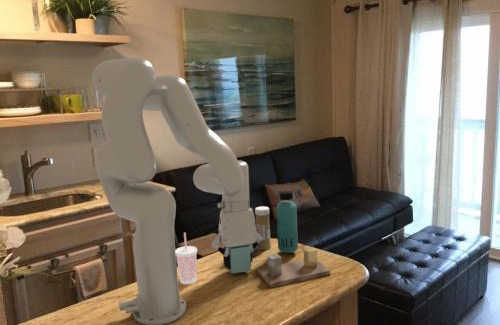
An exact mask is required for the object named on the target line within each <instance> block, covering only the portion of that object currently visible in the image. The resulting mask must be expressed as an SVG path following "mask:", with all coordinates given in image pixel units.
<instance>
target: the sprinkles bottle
mask: <svg viewBox="0 0 500 325" xmlns="http://www.w3.org/2000/svg"><path fill="white" fill-rule="evenodd" d="M254 214H255V225H256V226H257V227H258V233H259V234H260V235H261V236H262V237H263V239H262V240H261V242H260V243H259V250H262V251H263V250H264V251H265V250H269V249H271V247H272V246H271V230H270V228H271V226H270V225H271V224H270V208H269V207H268V206H258V207H255V208H254Z"/></svg>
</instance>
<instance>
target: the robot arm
mask: <svg viewBox="0 0 500 325" xmlns="http://www.w3.org/2000/svg"><path fill="white" fill-rule="evenodd" d="M91 80H92V84H93V86H94V88H95V90H96V91H97V92H98V93H99V94H100V95H101V96H103V97H104V98H105V99H104V101H103V105H102V110H101V123H102V124H101V125H102V128H103V132H104V135H105V138H106V141H104V142H103V143H102V144H100V145H99V147H98V148H97V150H96V152H95V157H94V167H95V171H96V173H97V174H96V175H97V176H98V179H99V182H100V185H101V187H102V189H103V193H104V195H105V197H106V200H107V203H108V204H109V205H108V206H110V209H111V210H112V211H113V213H114V214H116V216H118V217H119V218H121V219H124V220H127V221H130V222H132V223H133V222H134V223H135V224H136V228H135V232H134V236H133V240H132V243H133V244H132V248H133V255H134V265H135V266H134V267H135V274H136V275H135V276H136V286H137V287H136V288H137V293H135V294H136V297H135V298H132V300H127V301H125V300H124V301H121V302H119V303H118V304H119V306H118V307H119V311H120V312H121V311H125V314H126V315H127V314H131V313H132V314H133V318H134V320H135V321H136V322H138V323H139V324H142V325H165V324H169V323H172V322H174V321H176V320H178V319H180V318H181V317H182V316H184V314H186V311H187V306H188V305H187V302H186V300H185V299H184V298H183V297H181V296H180V292H179V291H180V290H179V288H180V287H179V280H178V279H179V278H178V264H177V257H176V253H175V250H176V243H175V221H176V220H175V219H176V213H177V212H176V210H177V208H176V207H177V203H176V200H175V199H176V198H175V197H174V196H173V195H174V194H172V192H170V190H168V189H167V188H165V187H163V186H161V185H158V184H154V183H150V182H149V181H151V180H152V179H154V177H155V175H156V171H157V161H156V157H155V154H154V150H153V148H152V145H151V141H150V139H149V135H148V132H147V130H146V126H145V121H144V117H143V116H144V115H143V114H144V112H143V111H145V110H146V111H153V112H155V111H156V112H160V113H161V115H162V116H163V118H164V121H165V122H166V124H167V126H168V127H169V130H170V131H171V134H172V135H173V137H174V139H175V141H176V142H177V144H178V145H180V146H181V147H182V148H184V149H185V150H187V151H188V152H191V153H192V154H194V155H195V156H198V157H199V158H201V159H202V160H203V161H204V162H206V164H201V165H199V167H197V168H195V171H194V172H193V176H192V181H193V184H194V186H195V187H196V188H197V189H199V190H200V191H202V192H206V193H210V194H217V195H220V196H221V195H222V199H221V202H217V207H218V208H217V209H221V210H220V212H219V219H218V220H219V221H218V234H217V236H216V237H215V239H214V240H213V241H212V243H210V245H211V247H212V248H213V249H215V250H216V251H218V252H219V253H220V254H221V255H223V259H222V260H223V266H224V267H225V268H226V269H227V270H228V271H230V269H231V267H230V256H229V251H230V248H232V247H238V246H245V245H249V246H250V255H251V263H253V261H254V259H253V257H254V256H252V252H254V249H255V248H256V247H257V245H258V243H260V242H261V240H262V239H263V237H262V236H261V235H260V234H259V233H258V232H257V231H256V217H255V215H254V214H255V212H254V210H253V208H252V207H250V183H249V182H250V181H249V180H250V176H249V165H248V163H247V162H246V161H243V160H238V159H237V156H236V155H235V153H234V151H233V150H232V149H231V147H229V145H228V144H226V143H225V141H224V140H223V139H222V138H220V137H219V136H218V134H217V133H215V132H214V131H213V130H212V129H211V128H210V127H209V126H208V124H207V122H206V121H205V118H204V116H203V114H202V111H201V110H200V108H199V106H198V104H197V101H196V100H195V97H194V95H193V93H192V91H191V89H190V87H189V85H188V83H187V82H186V80H185V79H184V78H182V77H181V76H178V75H173V74H168V75H167V74H166V75H165V74H164V75H163V74H162V75H156V73H155V69H154V66H153V64H152V63H151V62H150V61H148V60H147V59H145V58H143V57H124V58H118V59H110V60H109V59H108V60H105V61H103V62H102V61H101V62H100V63H99V64H98V65H97V66H96V67H95V69H94V70H93V73H92V79H91ZM148 182H149V183H148ZM219 244H221V245H219Z"/></svg>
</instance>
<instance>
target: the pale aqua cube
mask: <svg viewBox="0 0 500 325" xmlns="http://www.w3.org/2000/svg"><path fill="white" fill-rule="evenodd" d="M229 256H230V267H231V269H230V270H229V272H230V273H231V274H237V273H245V272H249V271H252V262H251V255H250V246H249V245H245V246H238V247H232V248H230V251H229Z"/></svg>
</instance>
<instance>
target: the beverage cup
mask: <svg viewBox="0 0 500 325" xmlns="http://www.w3.org/2000/svg"><path fill="white" fill-rule="evenodd" d="M183 239H184V246H181V247H178V248H175V253H176V264H177V271H178V275H179V282H180V283H181V284H183V285H191V284H194V283H196V282H197V278H198V276H197V275H198V273H197V272H198V270H197V269H198V267H197V253H198V248H197V247H196V246H193V245H187V233H186V232H183Z"/></svg>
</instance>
